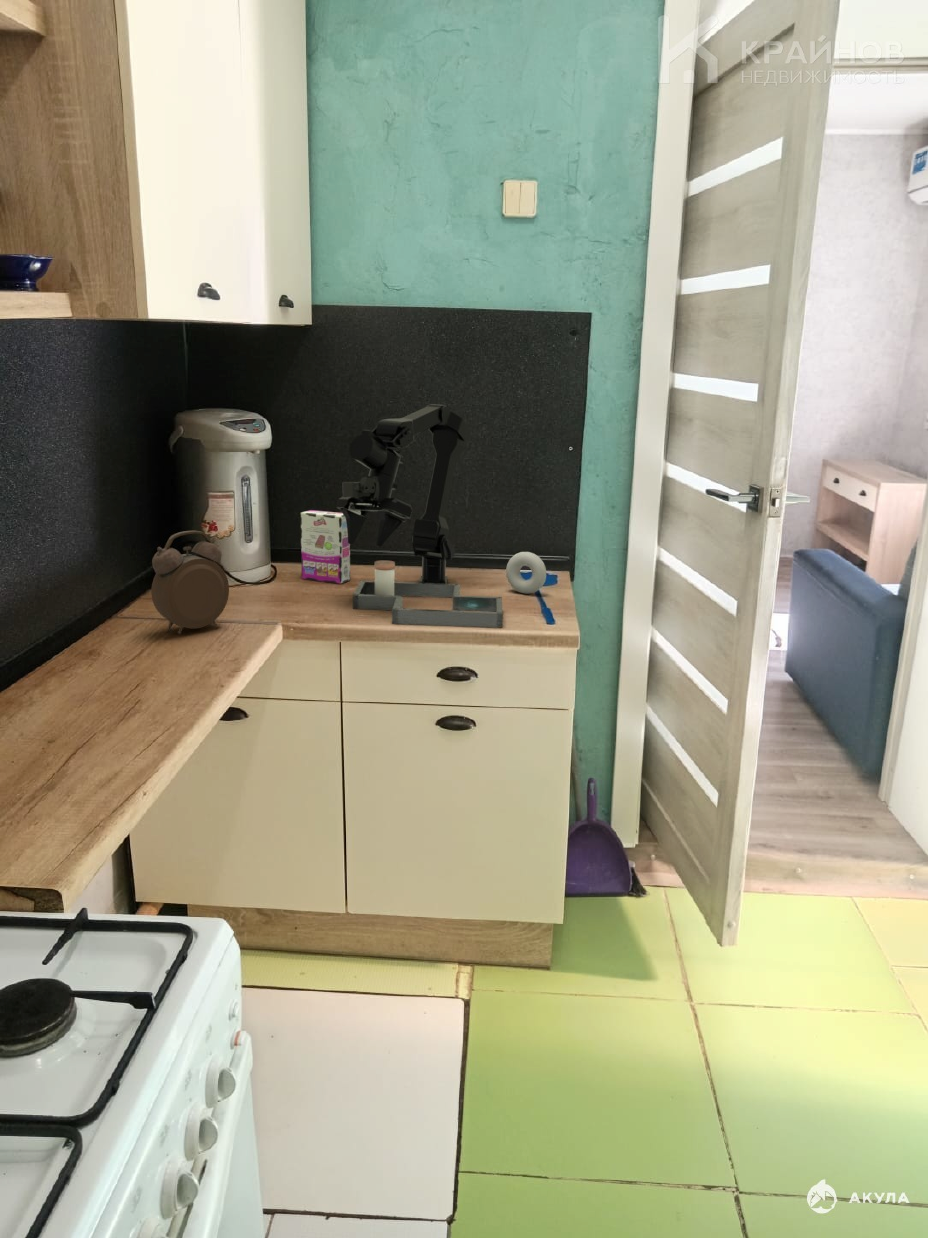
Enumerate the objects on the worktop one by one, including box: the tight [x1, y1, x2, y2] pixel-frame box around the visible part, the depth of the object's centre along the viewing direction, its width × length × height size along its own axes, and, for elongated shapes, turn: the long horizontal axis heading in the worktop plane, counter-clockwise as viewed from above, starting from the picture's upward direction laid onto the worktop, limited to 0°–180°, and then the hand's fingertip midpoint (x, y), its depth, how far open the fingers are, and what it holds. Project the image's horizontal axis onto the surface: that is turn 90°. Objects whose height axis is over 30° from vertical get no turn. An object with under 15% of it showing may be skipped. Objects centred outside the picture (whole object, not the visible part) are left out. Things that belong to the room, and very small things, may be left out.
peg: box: [374, 560, 396, 596], centre depth 219 cm, size 4×4×9 cm
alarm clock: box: [150, 530, 230, 635], centre depth 193 cm, size 15×7×20 cm, turn 135°
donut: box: [505, 551, 547, 595], centre depth 230 cm, size 10×3×10 cm, turn 64°
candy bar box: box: [300, 509, 351, 585], centre depth 236 cm, size 11×5×16 cm, turn 68°
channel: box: [352, 580, 504, 629], centre depth 215 cm, size 23×32×3 cm
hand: (364, 545), depth 211 cm, fingers open, 9 cm apart
